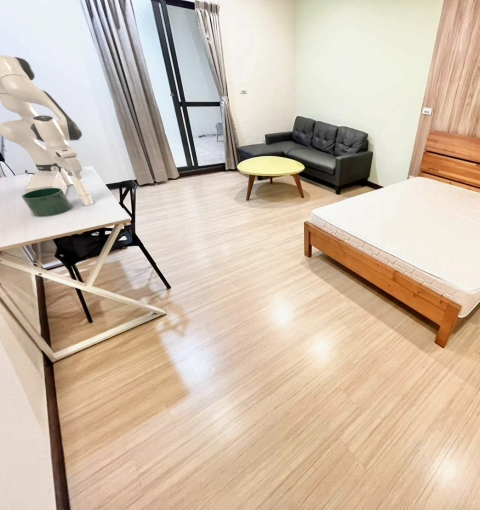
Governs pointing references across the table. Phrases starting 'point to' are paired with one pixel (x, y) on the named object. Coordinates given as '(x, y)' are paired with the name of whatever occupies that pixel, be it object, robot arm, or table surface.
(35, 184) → the cream long block
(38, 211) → the pot
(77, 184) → the tube
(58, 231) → the table surface
